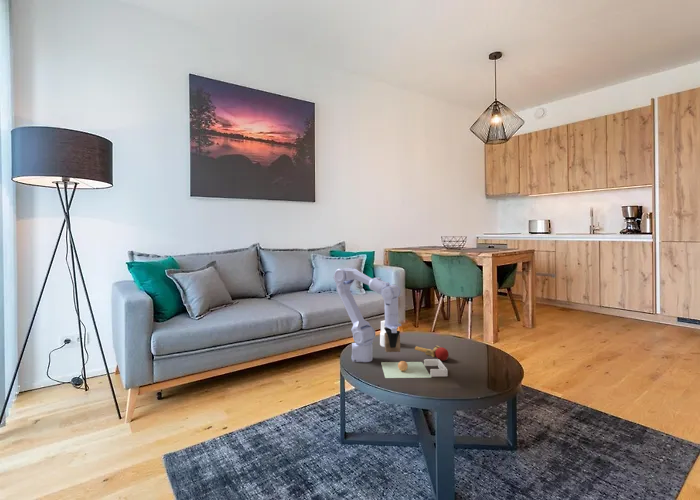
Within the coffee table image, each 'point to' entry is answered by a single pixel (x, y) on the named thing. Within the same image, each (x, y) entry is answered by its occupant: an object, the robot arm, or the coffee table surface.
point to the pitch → (414, 369)
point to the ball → (402, 365)
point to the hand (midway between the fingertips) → (392, 345)
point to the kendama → (435, 352)
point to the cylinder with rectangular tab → (382, 334)
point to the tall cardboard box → (387, 345)
